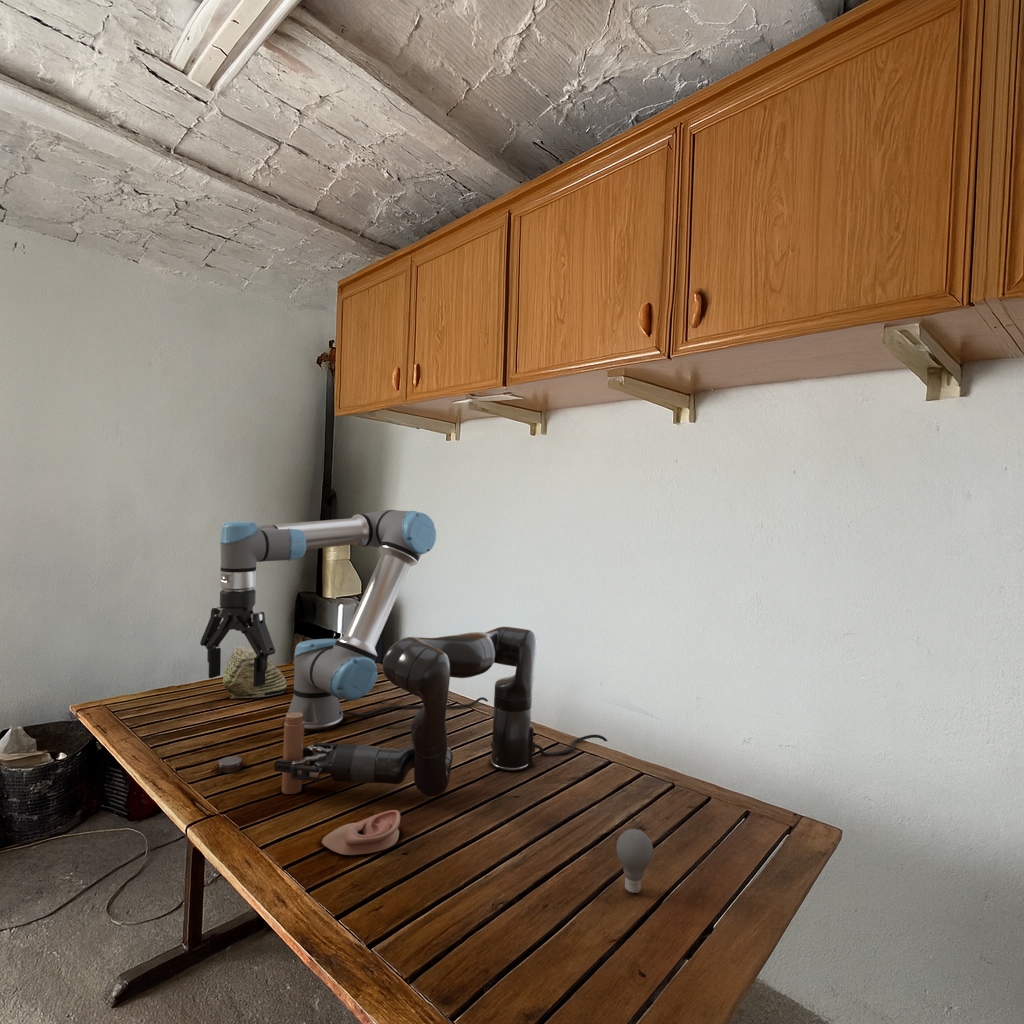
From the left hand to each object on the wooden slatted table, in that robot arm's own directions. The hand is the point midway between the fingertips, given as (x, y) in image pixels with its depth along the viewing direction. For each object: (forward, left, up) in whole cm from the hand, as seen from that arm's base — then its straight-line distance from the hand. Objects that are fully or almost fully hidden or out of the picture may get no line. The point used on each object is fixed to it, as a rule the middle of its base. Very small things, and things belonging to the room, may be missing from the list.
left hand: (236, 681), depth 146 cm
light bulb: (-21, +91, -20) cm, 96 cm away
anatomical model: (-1, +46, -20) cm, 50 cm away
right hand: (-2, +17, -13) cm, 22 cm away
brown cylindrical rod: (-3, +19, -20) cm, 28 cm away
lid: (+1, 0, -19) cm, 19 cm away
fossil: (-30, -45, -20) cm, 58 cm away
